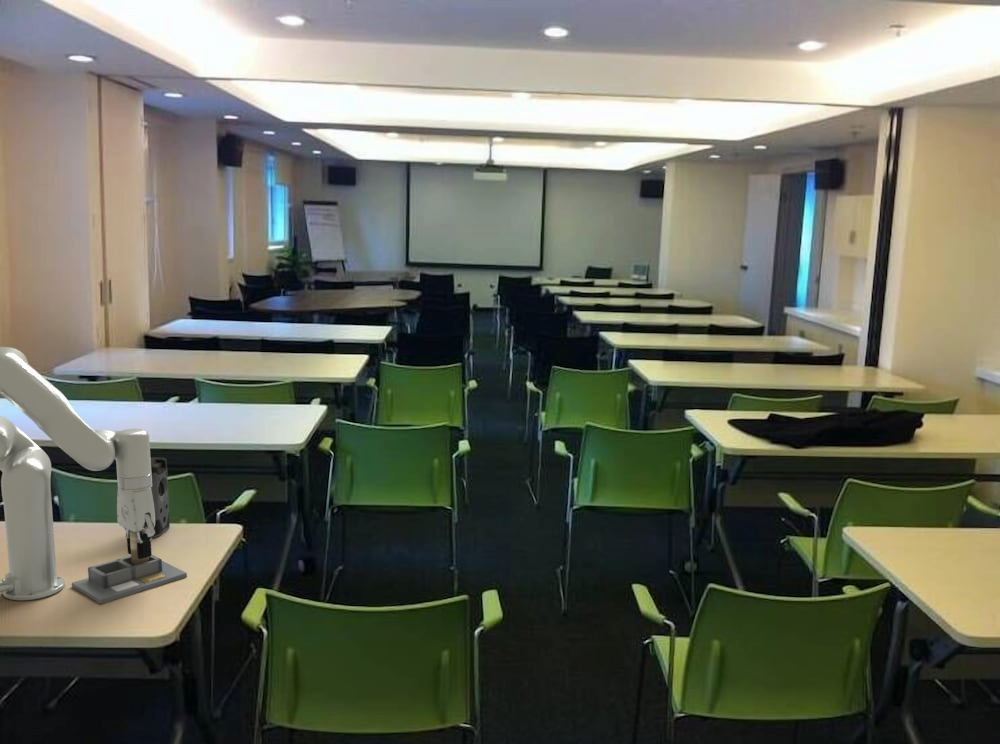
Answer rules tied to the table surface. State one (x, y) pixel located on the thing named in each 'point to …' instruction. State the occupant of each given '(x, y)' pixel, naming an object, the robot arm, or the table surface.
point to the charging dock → (126, 578)
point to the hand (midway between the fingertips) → (139, 554)
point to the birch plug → (134, 549)
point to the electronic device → (160, 495)
